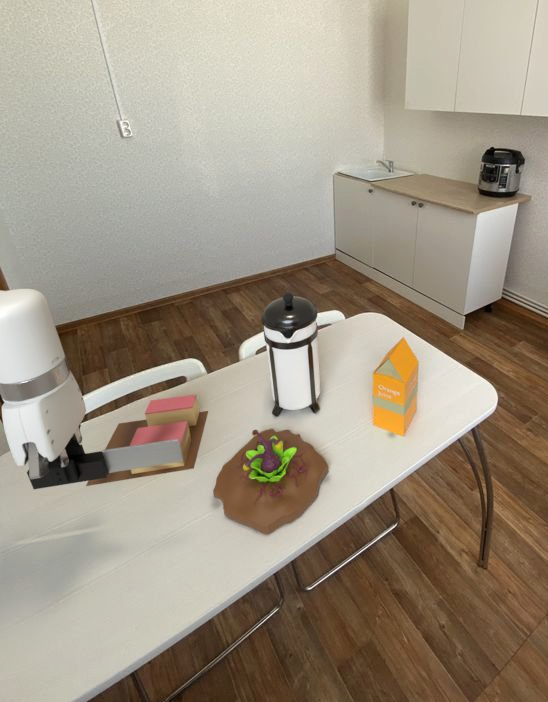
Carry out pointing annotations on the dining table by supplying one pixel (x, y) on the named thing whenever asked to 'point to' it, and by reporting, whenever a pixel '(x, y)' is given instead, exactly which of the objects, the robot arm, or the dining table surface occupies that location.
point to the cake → (143, 434)
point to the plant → (270, 480)
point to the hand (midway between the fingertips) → (71, 473)
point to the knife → (118, 461)
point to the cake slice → (173, 410)
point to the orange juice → (395, 389)
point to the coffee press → (292, 353)
